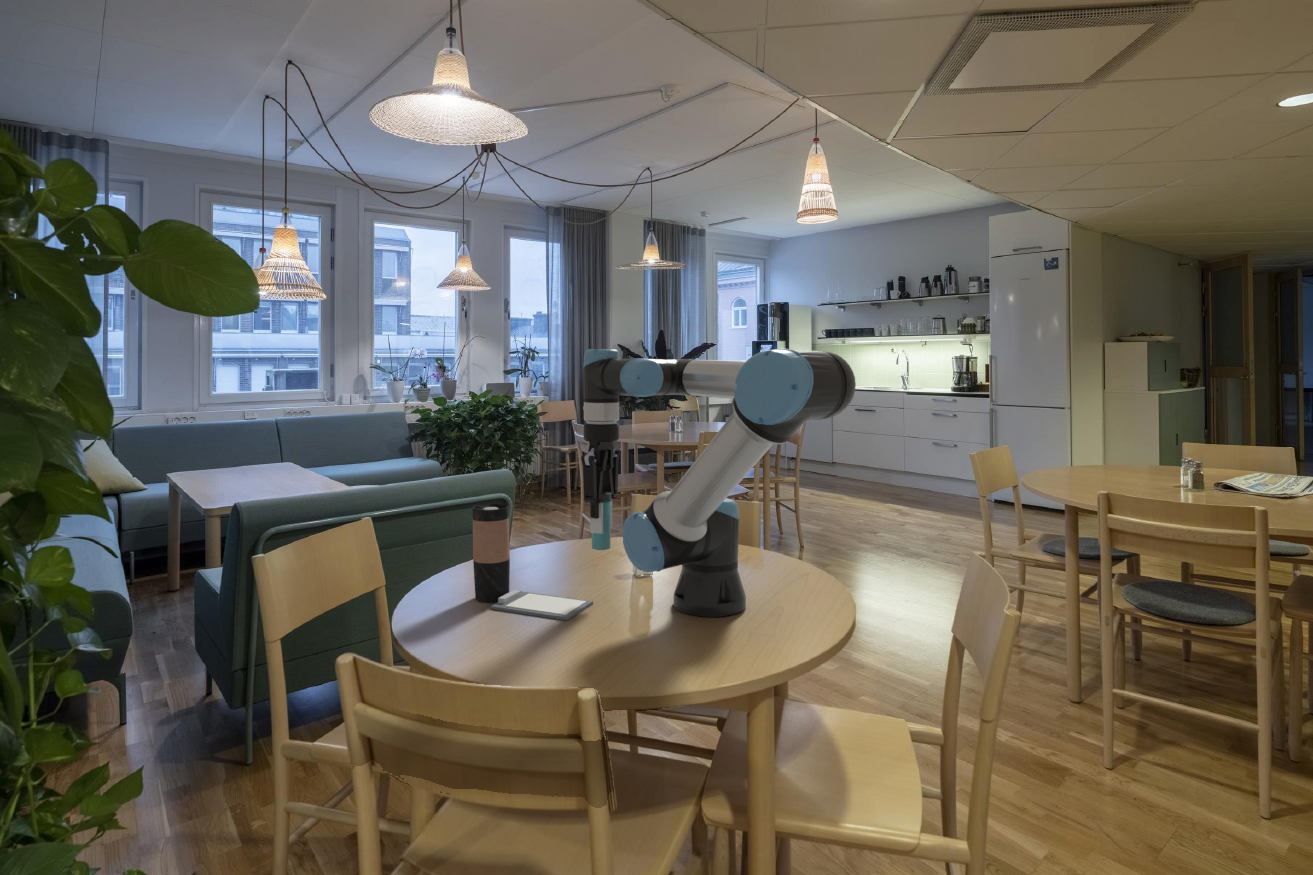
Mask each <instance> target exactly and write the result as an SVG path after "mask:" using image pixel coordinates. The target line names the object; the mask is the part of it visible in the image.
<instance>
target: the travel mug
mask: <svg viewBox="0 0 1313 875" xmlns="http://www.w3.org/2000/svg"><path fill="white" fill-rule="evenodd" d="M509 516H510V514H509V505H508V504H504V503H497V502H496V503H493V502H492V503H490V504H488V505H487V506H481V505H479V504H477V505H474V506H473V507H472V556H473V557H472V561H473V579H474V580H473V582H474V594H475V600H476V602H478V603H482V604H496V603H498V598H499V597H501V596H503V595H505V594H507V593H509V592H510V572H511V571H510V568H511V567H510V566H511V565H510V562H511V561H510V560H511V558H510V557H511V556H510V552H511V550H510V549H511V548H510V523H509V522H510V521H509V518H510V517H509Z"/></svg>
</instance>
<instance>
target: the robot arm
mask: <svg viewBox="0 0 1313 875" xmlns="http://www.w3.org/2000/svg"><path fill="white" fill-rule="evenodd" d="M582 372H583V373H582V374H583V376H582V377H583V379H582V380H583V381H582V382H583V383H582V385H583V387H582V388H583V407H582V410H583V420H584V421H585V423H584V424H583V440H584V441H585V442H588V444H589V445H588V451H587V452H588V453H587V454H582V455H581V463H582V464H581V465H582V477H583V478H582V480H583V501H584V502H585V503H589V532H590V533H591V534H592V533H598V534H602V533H603V503H600V502H601V493H602V491H608V492H611V521H610V531H611V530H612V529H613V500H617V499H618V489H619V460H620V455H621V450H620V449H616V448H615V445H614V442H617V441H619V439H620V424H619V423H618V421H619V420H620V398H619V397H620V396H625V397H626V396H627V397H635V398H640V397H641V398H646V397H653V396H675V395H676V396H690V397H705V398H717V399H718V398H720V399H732V409H733V412H732V414H731V415H730V416H729V418H728V419H727V420H726V422H724V424H723V425H722V427H720V429H719V430H718V432H717V433H716V434H715V435H714V436H713V438H712V439H711V440H710V442H709V443H708V444H707V446H706V447H705V448H704V450H703V451H702V452H701V453H700V454H699V456H698V457H697V458H696V459H695V461H694V462H693V463H692V464H691V465H690V467H689V468H688V469H687V471H686V472H685V473H684V474H683V476H682V477H681V478H680V480H679V481H678V482H677V484H676V485H675V486H674V487H673V488H672V489H671V490H666V491H665V490H664V491H663V492H660V493H659V494H658V495H657V496H656V497H655V498H654V500H653V501H652V502H651V504H649V506H648V507H647V508H646V509H645V510H643V511H636V512H633V513H631V514H629V515H628V516H627V517H626V519H625V520H624V522H623V524H622V525H623V526H622V531H621V534H622V535H621V537H622V545H623V548H624V552H625V554H626V556H627V558H628V560H629V561H630V563H631V564H632V565H633V566H634V567H635V568H636V569H637V570H639V571H642V572H644V573H652V572H656V573H657V572H661V571H664V570H666V569H667V570H668V569H671V568H675V567H678V566H681V571H680V574H679V577H678V581H677V583H676V586H675V589H674V592H673V607H674V609H676V610H677V611H679V612H682V613H685V614H688V615H692V616H697V617H709V618H713V617H727V616H732V615H736V614H739V613H741V612H743V611H744V610H745V609H746V605H747V604H746V603H747V595H746V592H745V589H744V586H743V583H742V579H741V576H740V573H739V566H738V565H739V532H740V531H739V530H740V529H739V528H740V526H739V525H740V517H739V505H738V503H737V502H736V501H735V500H733V499H731V498H728V497H729V496H730V494H731V493H733V490H735V488H737V486H739V484H740V483H741V482H742V481H743V480H744V479H745V477H746V476H747V475H748V474H749V472H750V471H751V470H752V469H753V468H754V466H756V464H757V463H758V462H759V461H760V460H761V458H762V457H764V455H765V454H766V453H767V452H768V451H769V450H770V448H772V447H773V445H783V444H786V443H787V442H788V441H790V439H791V438H792V437H793V436H794V435H795V434H796V433H797V432H798V431H799V430H800V428H801V427H802V426H803V425H804V424H805V423H807V422H808V421H810V422H811V421H819V420H827V419H831V418H834V417H835V416H838V415H840V414H841V413H842V412H843V411H845V410H846V409H847V407H848V406H849V405H850V404H851V402H852V400H853V398H854V396H855V392H856V386H857V384H856V376H855V374H854V370H853V369H852V367H851V365H850V364H849V363H848V362H847V360H845V358H843V357H842V356H840V355H838V354H836V353H833V352H832V351H825V350H794V349H791V348H775V349H774V348H773V349H768V350H763V351H760V352H758V353H756V354H755V353H754V354H753V355H752V356H751V357H749V358H748V359H747V360H729V359H727V360H721V359H692V358H681V359H680V358H669V359H668V358H666V359H665V358H664V359H663V358H645V357H641V358H640V357H637V358H620V352H619V350H617V349H612V348H610V349H609V348H608V349H607V348H598V349H597V348H596V349H595V348H589V349H587V350H585V351H584V354H583V366H582Z"/></svg>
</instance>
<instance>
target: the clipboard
mask: <svg viewBox="0 0 1313 875" xmlns="http://www.w3.org/2000/svg"><path fill="white" fill-rule="evenodd" d="M593 604H594V600H588V599H580V598H575V597H574V598H572V597H565V596H558V595H551V594H543V593H535V592H528V591H521V590H517V589H513V590H510V591H509V593H507V594H505V595H503V596H501V597H499V598H498V602H497V603H493V604H492V605H490V610H496V611H503V612H509V613H514V614H515V613H517V614H521V615H522V614H523V615H528V616H529V615H530V616H536V617H542V618H549V619H555V620H562V621H563V620H564V621H569V620H571V619H572V618H574V617H575V616H577V615H579V613H582V612H583V611H584V610H586V609H588V608H589V607H591V606H592V605H593Z"/></svg>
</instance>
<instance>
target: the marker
mask: <svg viewBox="0 0 1313 875" xmlns="http://www.w3.org/2000/svg"><path fill="white" fill-rule="evenodd" d="M600 503H603V533H602V534H598V533H591V549H592V550H596V551H606V550H607V551H608V550H609V549H611V530H610V521H611V492H608V491H602V493H601V502H600Z"/></svg>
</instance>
